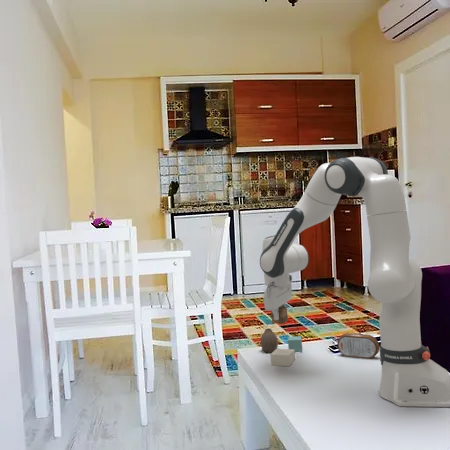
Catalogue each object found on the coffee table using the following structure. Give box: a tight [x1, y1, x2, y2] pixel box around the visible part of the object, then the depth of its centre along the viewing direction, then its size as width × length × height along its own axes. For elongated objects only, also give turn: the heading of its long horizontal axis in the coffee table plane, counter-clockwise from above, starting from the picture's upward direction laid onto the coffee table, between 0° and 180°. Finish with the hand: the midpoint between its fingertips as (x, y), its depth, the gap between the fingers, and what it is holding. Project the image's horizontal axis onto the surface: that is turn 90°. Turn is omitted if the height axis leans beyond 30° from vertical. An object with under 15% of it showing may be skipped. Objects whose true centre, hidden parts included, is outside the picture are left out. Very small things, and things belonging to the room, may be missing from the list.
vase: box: [259, 328, 279, 353], centre depth 201 cm, size 7×7×9 cm
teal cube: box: [287, 335, 303, 354], centre depth 199 cm, size 5×5×5 cm
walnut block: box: [270, 306, 289, 324], centre depth 185 cm, size 4×4×5 cm
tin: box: [336, 332, 380, 359], centre depth 185 cm, size 15×3×8 cm, turn 58°
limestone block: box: [269, 348, 296, 367], centre depth 186 cm, size 7×7×4 cm
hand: (279, 317), depth 185 cm, fingers closed on walnut block, 4 cm apart
